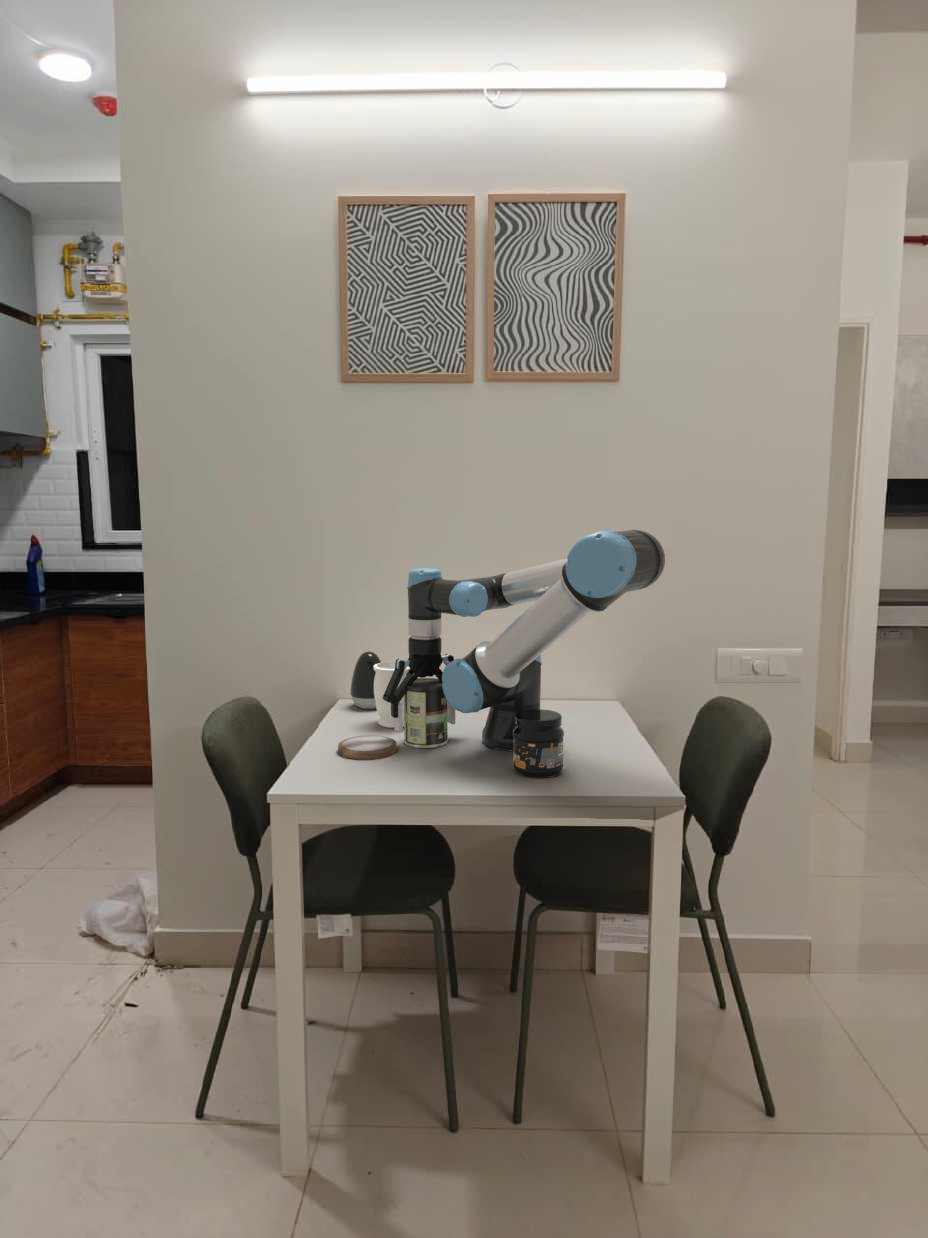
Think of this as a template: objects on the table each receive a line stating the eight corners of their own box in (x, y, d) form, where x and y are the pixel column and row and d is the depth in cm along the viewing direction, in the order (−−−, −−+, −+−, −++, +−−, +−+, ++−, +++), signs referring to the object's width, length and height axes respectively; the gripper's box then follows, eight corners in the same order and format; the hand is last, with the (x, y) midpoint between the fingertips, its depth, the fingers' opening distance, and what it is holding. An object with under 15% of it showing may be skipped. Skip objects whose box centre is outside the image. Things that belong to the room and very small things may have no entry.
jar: (414, 730, 199) (413, 669, 197) (371, 729, 199) (370, 669, 197) (417, 718, 210) (416, 660, 207) (377, 718, 210) (376, 660, 208)
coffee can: (448, 735, 195) (448, 677, 192) (447, 748, 184) (447, 687, 182) (405, 735, 195) (404, 677, 193) (401, 748, 184) (400, 687, 182)
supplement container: (507, 764, 174) (507, 709, 172) (554, 761, 176) (555, 707, 174) (519, 781, 163) (520, 723, 162) (570, 777, 165) (571, 720, 164)
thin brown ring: (408, 751, 182) (407, 744, 182) (358, 763, 174) (357, 756, 174) (376, 738, 192) (376, 731, 192) (327, 749, 184) (327, 741, 184)
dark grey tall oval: (352, 713, 215) (350, 656, 212) (349, 703, 225) (348, 648, 223) (390, 710, 217) (389, 654, 214) (386, 701, 227) (385, 647, 225)
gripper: (464, 629, 195) (464, 716, 198) (367, 638, 183) (368, 730, 186) (480, 634, 189) (480, 723, 192) (380, 643, 177) (382, 738, 180)
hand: (425, 727), depth 189 cm, fingers open, 13 cm apart
